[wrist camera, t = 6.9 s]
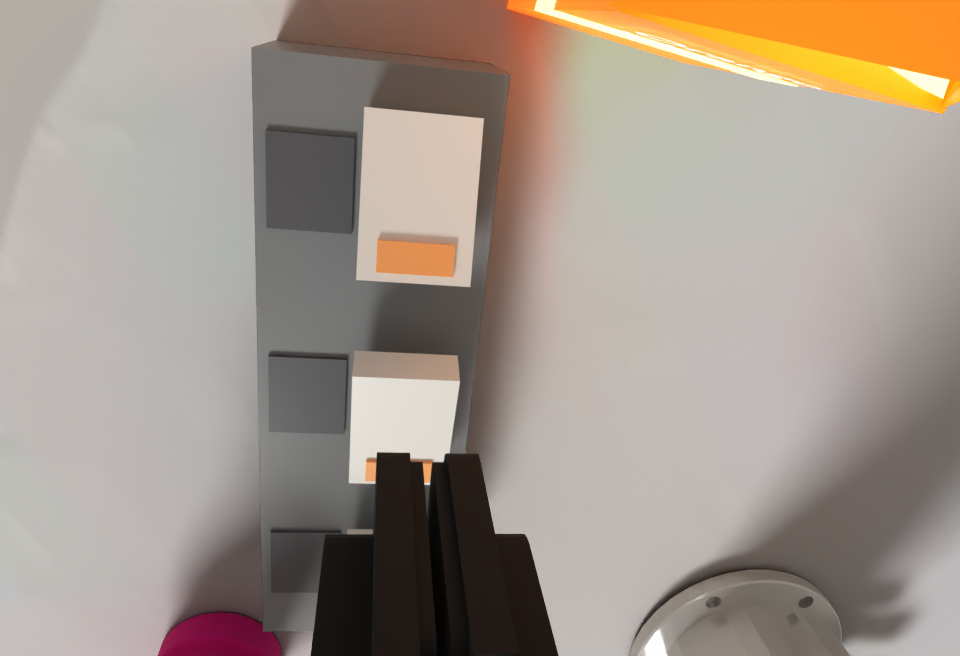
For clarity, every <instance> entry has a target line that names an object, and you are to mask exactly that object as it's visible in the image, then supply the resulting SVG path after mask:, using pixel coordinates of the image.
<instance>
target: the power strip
mask: <svg viewBox="0 0 960 656" xmlns="http://www.w3.org/2000/svg"><path fill="white" fill-rule="evenodd" d="M251 50H252V101H253V152H254V203H255V255H256V306H257V357H258V408H259V459H260V510H261V562H262V613H263V632H274V631H314V624H315V615H316V606H317V598H318V589H319V580H320V572H321V563H322V554H323V546H324V538H325V534H347V529H373V519H374V498H375V484H362V483H349V461H350V430H351V398H352V373H353V362H354V351H374V352H395V353H416V354H437V355H458V365H459V376H460V385H459V392H458V399H457V405H456V412H455V419H454V426H453V433H452V439H451V446H450V453H456V454H465V451H466V442H467V434H468V425H469V417H470V408H471V400H472V391H473V383H474V374H475V366H476V357H477V349H478V341H479V332H480V324H481V315H482V307H483V298H484V290H485V281H486V273H487V264H488V256H489V247H490V239H491V231H492V222H493V214H494V205H495V197H496V188H497V180H498V171H499V163H500V154H501V146H502V137H503V129H504V121H505V112H506V104H507V95H508V87H509V78H510V75H509V74H507V73H506V72H504V71H502V70H500V69H499V68H497V67H495V66H494V65H492V64H489V63H480V62H471V61H462V60H452V59H443V58H434V57H425V56H416V55H406V54H397V53H388V52H379V51H370V50H360V49H351V48H342V47H333V46H324V45H314V44H305V43H296V42H287V41H278V40H275V41H272V42H268V43H265V44H262V45H258V46H255V47H251ZM364 107H372V108H382V109H392V110H402V111H413V112H423V113H433V114H444V115H454V116H464V117H474V118H484V124H483V136H482V149H481V161H480V173H479V186H478V198H477V211H476V223H475V236H474V248H473V260H472V273H471V285H470V287H461V286H445V285H429V284H412V283H396V282H380V281H364V280H356V271H357V250H358V229H359V208H360V187H361V166H362V145H363V124H364ZM429 490H430V485H425V497H426V510H427V512H428V501H429Z"/></svg>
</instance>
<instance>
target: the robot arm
mask: <svg viewBox="0 0 960 656" xmlns="http://www.w3.org/2000/svg"><path fill="white" fill-rule="evenodd" d="M311 656H558V652H557V649H556V645H555V641H554V637H553V633H552V629H551V626H550V622H549V618H548V614H547V610H546V606H545V603H544V599H543V595H542V591H541V587H540V583H539V580H538V576H537V572H536V568H535V564H534V560H533V557H532V553H531V549H530V545H529V542H528V539H527V537H526V536H525V534H495V532H494V527H493V522H492V517H491V512H490V507H489V502H488V497H487V492H486V487H485V482H484V477H483V472H482V467H481V462H480V458H479V455H478V454H456V453H446V454H445V457H444V462H433V463H432V468H431V478H430V490H429V501H428V512H427V510H426V497H425V485H424V472H423V462H410V453H393V452H377V458H376V478H375V498H374V519H373V534H325V538H324V546H323V554H322V563H321V572H320V580H319V589H318V598H317V606H316V615H315V624H314V633H313V641H312V650H311ZM629 656H851V655H849V653H848V652H847V651H846V649H845V648H844V646H843V645H842V628H841V625H840V621H839V618H838V615H837V614H836V612H835V610H834V609H833V607H832V606H831V604H830V603H829V602H828V600H827V599H826V597H825V596H824V595H823V594H822V593H821V592H820V591H819V589H818V588H817V587H815V586H814V585H812V584H811V583H809V582H808V581H806V580H805V579H803V578H800V577H797V576H795V575H792V574H790V573H786V572H780V571H774V570H743V571H737V572H730V573H726V574H722V575H719V576H716V577H712V578H709V579H706V580H704V581H702V582H700V583H697V584H695V585H693V586H691V587H688V588H687V589H685V590H684V591H682V592H680V593H679V594H677V595H676V596H674V597H672V598H671V599H670V600H668V601H667V602H666V603H665V604H664V605H663V606H661V607H660V608H659V609H658V610H657V611H656V612H655V613H654V614H653V615H652V616H651V617H650V619H649V620H648V621H647V622H646V623H645V624H644V626H643V627H642V628H641V630H640V632H639V634H638V635H637V637H636V639H635V641H634V643H633V646H632V649H631V652H630V655H629Z"/></svg>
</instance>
